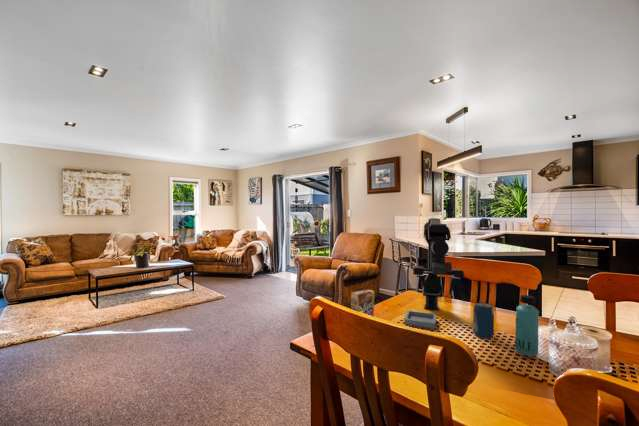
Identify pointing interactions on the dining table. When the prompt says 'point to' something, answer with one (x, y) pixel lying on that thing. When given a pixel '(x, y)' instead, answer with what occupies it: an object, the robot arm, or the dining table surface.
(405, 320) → the tray
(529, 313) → the beverage bottle
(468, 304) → the dining table surface
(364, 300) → the candy box
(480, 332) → the soda can
